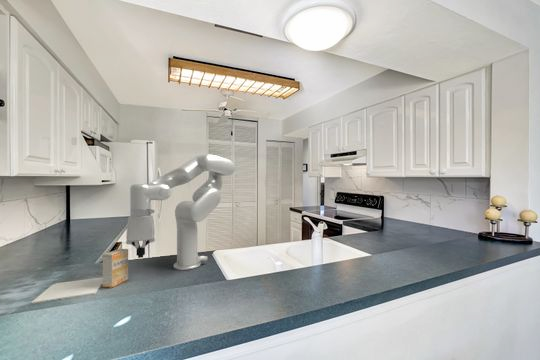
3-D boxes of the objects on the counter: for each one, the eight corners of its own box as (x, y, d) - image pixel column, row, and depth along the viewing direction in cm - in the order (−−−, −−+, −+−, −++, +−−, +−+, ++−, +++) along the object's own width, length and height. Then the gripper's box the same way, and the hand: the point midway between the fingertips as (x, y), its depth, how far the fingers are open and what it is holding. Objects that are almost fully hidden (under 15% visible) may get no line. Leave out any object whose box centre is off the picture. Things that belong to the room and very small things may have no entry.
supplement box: (112, 288, 92) (112, 254, 92) (101, 287, 93) (101, 253, 93) (129, 279, 100) (128, 248, 100) (119, 278, 101) (119, 248, 101)
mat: (106, 278, 102) (106, 276, 102) (95, 294, 87) (95, 292, 87) (53, 285, 95) (53, 283, 95) (31, 304, 80) (31, 302, 80)
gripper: (160, 211, 106) (160, 252, 106) (121, 213, 101) (122, 256, 101) (159, 213, 99) (159, 257, 99) (118, 215, 94) (118, 262, 94)
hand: (140, 256), depth 100 cm, fingers closed
